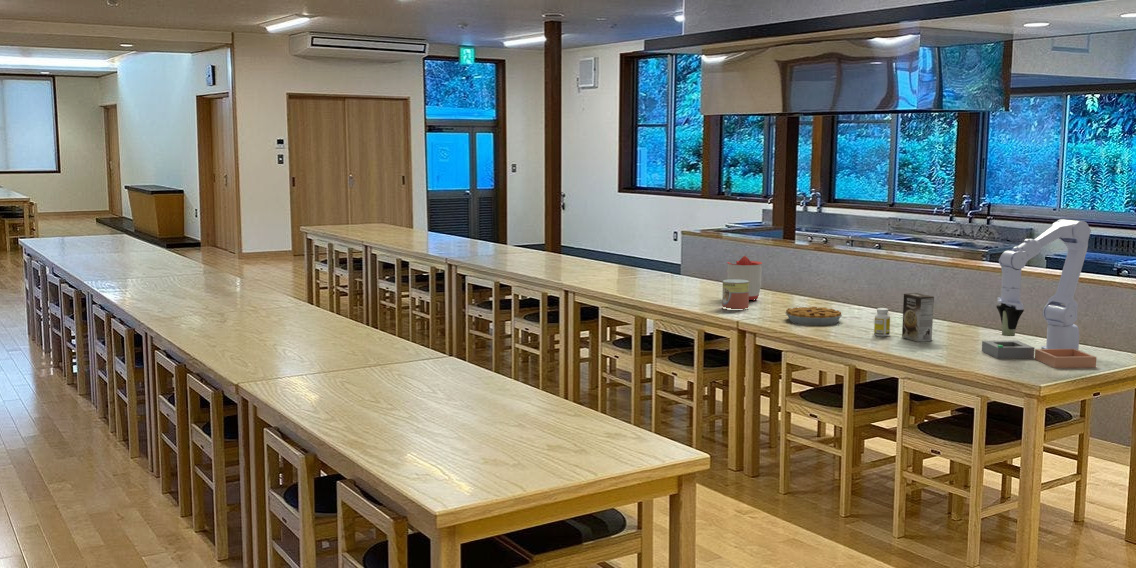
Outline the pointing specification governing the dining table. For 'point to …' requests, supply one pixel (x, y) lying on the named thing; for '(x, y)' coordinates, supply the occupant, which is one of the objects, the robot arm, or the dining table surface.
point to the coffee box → (917, 317)
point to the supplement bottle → (882, 322)
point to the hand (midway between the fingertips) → (1008, 327)
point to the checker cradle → (1008, 349)
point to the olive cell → (1006, 326)
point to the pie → (813, 315)
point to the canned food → (735, 294)
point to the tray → (1065, 358)
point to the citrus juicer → (747, 274)
